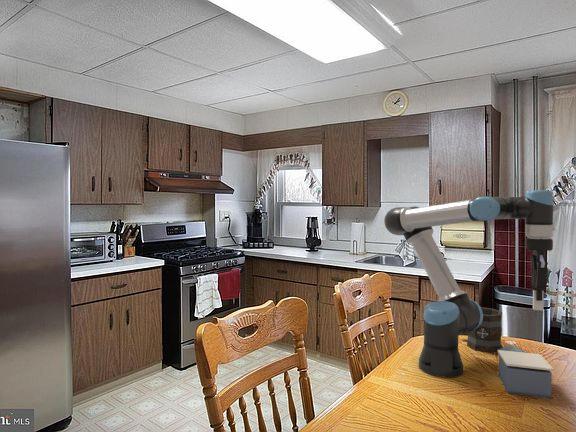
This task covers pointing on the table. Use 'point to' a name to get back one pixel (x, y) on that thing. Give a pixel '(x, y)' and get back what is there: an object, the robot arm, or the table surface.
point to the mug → (487, 332)
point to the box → (525, 380)
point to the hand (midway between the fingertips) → (538, 309)
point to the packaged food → (512, 349)
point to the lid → (524, 360)
